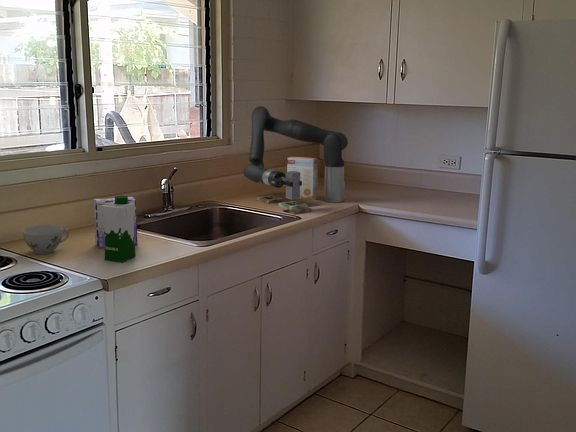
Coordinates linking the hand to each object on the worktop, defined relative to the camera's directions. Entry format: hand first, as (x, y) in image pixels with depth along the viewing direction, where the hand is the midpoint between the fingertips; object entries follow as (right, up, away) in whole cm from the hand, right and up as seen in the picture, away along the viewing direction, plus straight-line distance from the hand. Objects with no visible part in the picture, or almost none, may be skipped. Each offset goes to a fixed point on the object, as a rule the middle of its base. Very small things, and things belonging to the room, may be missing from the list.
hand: (296, 183), depth 272 cm
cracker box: (+3, -6, +29) cm, 30 cm away
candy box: (-64, -24, -57) cm, 89 cm away
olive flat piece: (-7, -10, +11) cm, 16 cm away
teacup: (-85, -26, -66) cm, 111 cm away
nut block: (-2, -6, +4) cm, 8 cm away
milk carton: (-58, -28, -74) cm, 98 cm away
